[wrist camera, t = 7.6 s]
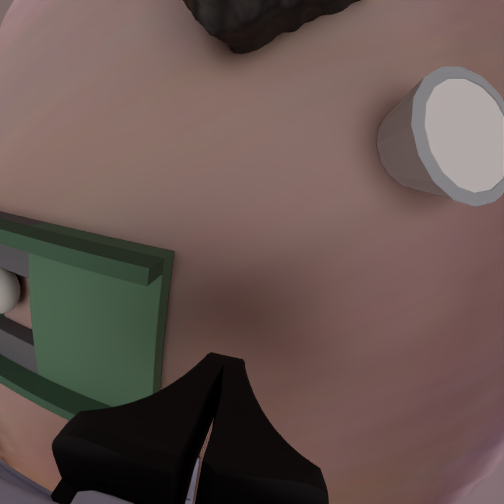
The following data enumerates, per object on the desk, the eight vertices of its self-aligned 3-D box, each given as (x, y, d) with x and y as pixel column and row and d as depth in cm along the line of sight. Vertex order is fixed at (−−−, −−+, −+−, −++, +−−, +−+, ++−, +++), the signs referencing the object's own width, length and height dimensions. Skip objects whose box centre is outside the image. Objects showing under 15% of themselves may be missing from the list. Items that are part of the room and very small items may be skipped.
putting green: (158, 413, 23) (115, 502, 13) (-9, 341, 24) (-70, 382, 14) (180, 213, 20) (100, 237, 10) (-16, 180, 20) (-100, 188, 11)
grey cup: (457, 200, 18) (521, 209, 12) (369, 198, 19) (415, 204, 12) (451, 104, 17) (510, 81, 10) (363, 93, 18) (402, 53, 11)
